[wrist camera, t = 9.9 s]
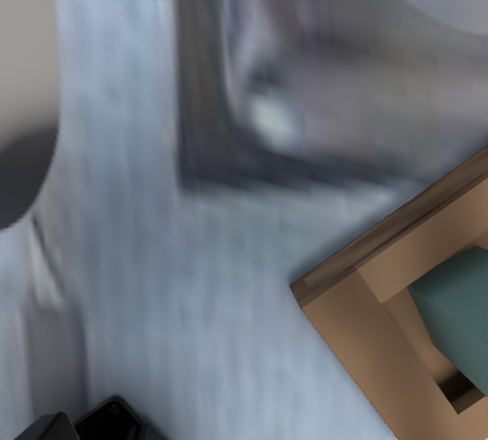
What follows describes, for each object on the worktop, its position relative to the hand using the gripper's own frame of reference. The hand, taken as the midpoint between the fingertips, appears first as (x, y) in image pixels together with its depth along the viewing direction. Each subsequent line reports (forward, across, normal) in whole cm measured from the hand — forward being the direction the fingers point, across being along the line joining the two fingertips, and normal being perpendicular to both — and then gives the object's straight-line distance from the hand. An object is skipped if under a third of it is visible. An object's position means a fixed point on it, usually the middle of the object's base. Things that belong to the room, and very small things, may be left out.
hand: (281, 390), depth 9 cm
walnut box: (+14, -8, +8) cm, 18 cm away
